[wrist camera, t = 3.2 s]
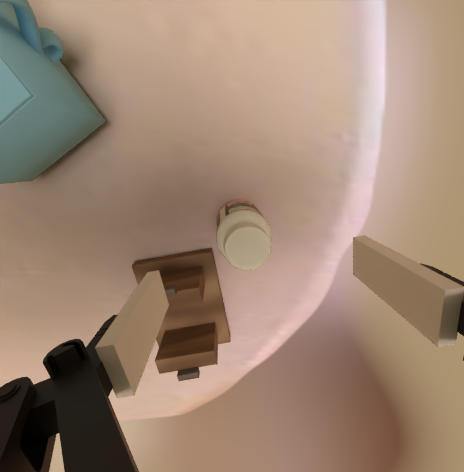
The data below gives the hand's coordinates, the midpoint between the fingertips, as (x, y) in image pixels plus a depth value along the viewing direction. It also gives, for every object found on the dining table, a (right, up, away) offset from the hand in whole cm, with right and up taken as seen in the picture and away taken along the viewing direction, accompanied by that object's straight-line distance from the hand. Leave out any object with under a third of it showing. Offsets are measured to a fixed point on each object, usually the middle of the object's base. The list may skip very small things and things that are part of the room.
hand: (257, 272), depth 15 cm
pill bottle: (-1, +4, +13) cm, 14 cm away
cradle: (-8, -7, +16) cm, 19 cm away
